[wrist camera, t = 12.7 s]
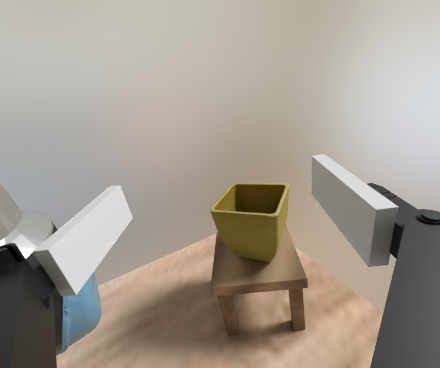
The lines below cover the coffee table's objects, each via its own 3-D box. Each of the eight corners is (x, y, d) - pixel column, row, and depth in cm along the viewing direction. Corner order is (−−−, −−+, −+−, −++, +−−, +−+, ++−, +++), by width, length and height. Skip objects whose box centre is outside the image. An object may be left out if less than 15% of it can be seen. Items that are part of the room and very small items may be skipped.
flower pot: (293, 234, 34) (289, 182, 31) (284, 276, 27) (277, 215, 24) (241, 229, 38) (232, 182, 35) (221, 264, 31) (208, 210, 28)
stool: (224, 338, 31) (210, 287, 28) (226, 274, 43) (217, 232, 39) (309, 332, 30) (307, 278, 26) (289, 268, 41) (285, 223, 37)
